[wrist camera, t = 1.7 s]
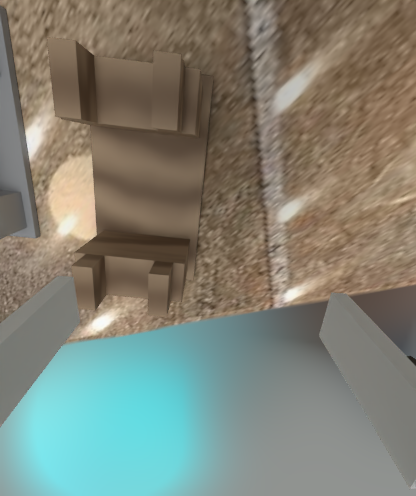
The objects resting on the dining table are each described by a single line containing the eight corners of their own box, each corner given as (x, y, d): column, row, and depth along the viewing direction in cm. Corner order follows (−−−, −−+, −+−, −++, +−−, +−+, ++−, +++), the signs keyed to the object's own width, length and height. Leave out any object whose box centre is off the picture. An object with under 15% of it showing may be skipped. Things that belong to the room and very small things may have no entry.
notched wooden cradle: (92, 64, 28) (10, 5, 17) (213, 79, 29) (214, 31, 17) (103, 266, 38) (55, 318, 26) (193, 275, 38) (186, 330, 27)
